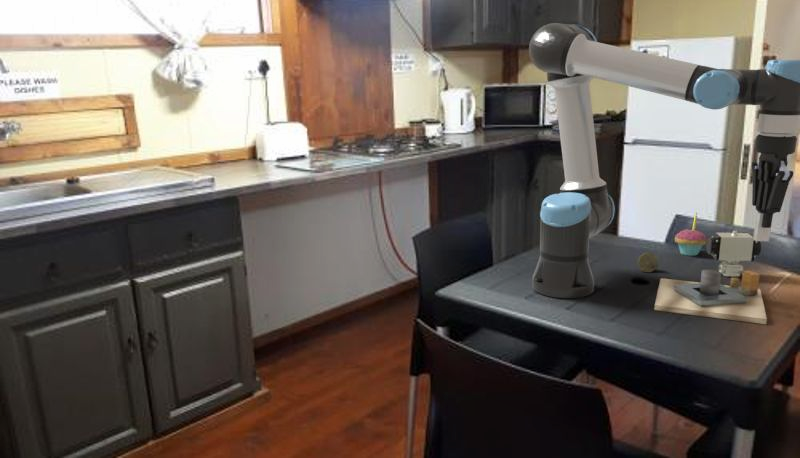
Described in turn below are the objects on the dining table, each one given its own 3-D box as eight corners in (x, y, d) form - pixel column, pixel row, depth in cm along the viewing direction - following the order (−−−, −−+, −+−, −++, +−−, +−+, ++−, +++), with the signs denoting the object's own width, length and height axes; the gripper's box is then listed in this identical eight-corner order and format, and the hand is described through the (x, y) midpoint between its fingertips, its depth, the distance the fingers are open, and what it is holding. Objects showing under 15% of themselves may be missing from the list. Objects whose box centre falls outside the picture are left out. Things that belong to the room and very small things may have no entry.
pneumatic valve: (757, 279, 158) (763, 233, 155) (708, 277, 161) (712, 232, 158) (750, 272, 164) (755, 228, 161) (702, 270, 166) (707, 227, 163)
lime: (659, 271, 166) (661, 254, 165) (645, 274, 164) (646, 256, 163) (647, 267, 170) (649, 249, 169) (633, 269, 168) (634, 252, 167)
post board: (654, 309, 140) (656, 279, 138) (660, 282, 158) (662, 255, 156) (766, 324, 131) (770, 292, 129) (759, 293, 148) (763, 265, 146)
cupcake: (682, 247, 187) (685, 209, 184) (711, 253, 181) (714, 213, 178) (668, 253, 182) (671, 213, 179) (696, 259, 175) (700, 218, 172)
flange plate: (700, 306, 138) (702, 284, 137) (673, 289, 149) (675, 269, 147) (769, 300, 140) (771, 279, 139) (737, 285, 150) (739, 265, 149)
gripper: (812, 137, 126) (794, 249, 132) (779, 131, 138) (763, 232, 144) (774, 137, 126) (757, 248, 132) (744, 131, 139) (730, 232, 145)
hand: (760, 240), depth 138 cm, fingers closed
